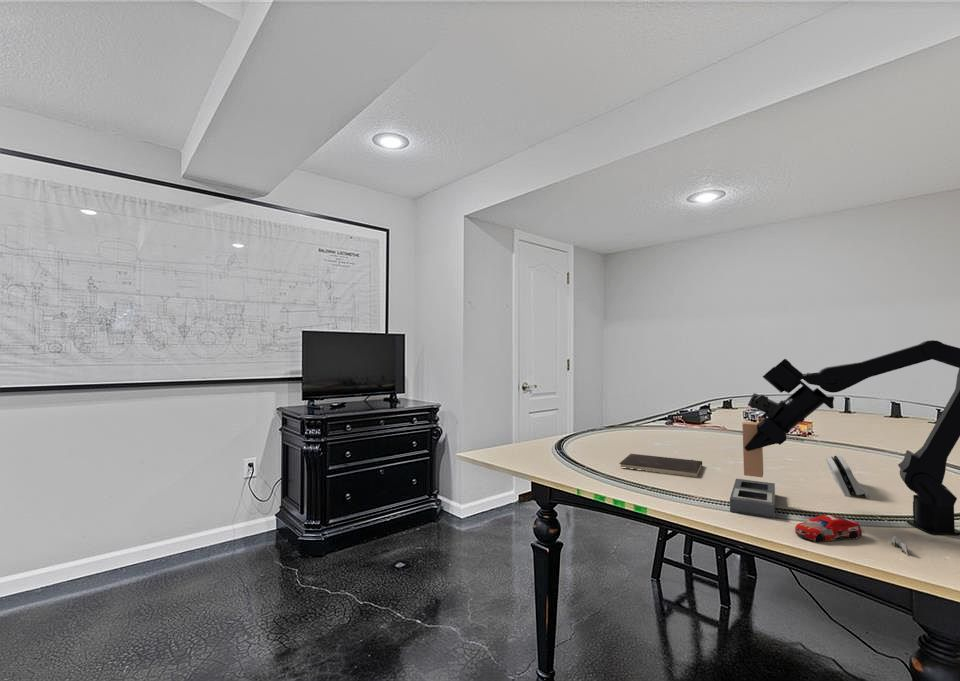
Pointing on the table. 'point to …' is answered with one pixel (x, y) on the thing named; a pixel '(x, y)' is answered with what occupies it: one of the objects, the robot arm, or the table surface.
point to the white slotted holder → (844, 476)
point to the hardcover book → (662, 464)
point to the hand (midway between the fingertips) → (746, 447)
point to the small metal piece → (900, 544)
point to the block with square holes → (753, 498)
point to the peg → (752, 452)
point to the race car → (828, 528)
